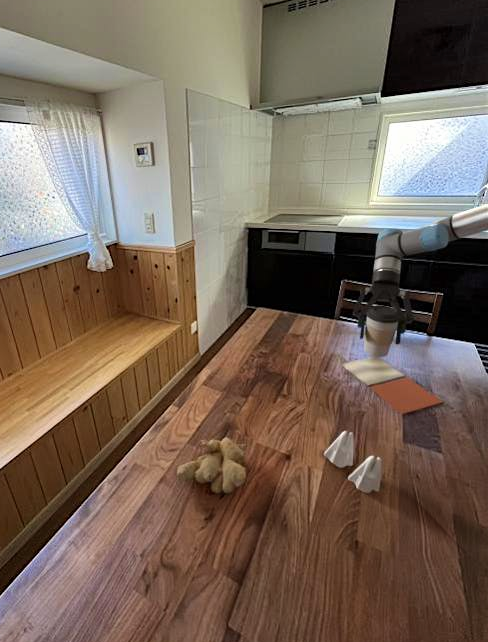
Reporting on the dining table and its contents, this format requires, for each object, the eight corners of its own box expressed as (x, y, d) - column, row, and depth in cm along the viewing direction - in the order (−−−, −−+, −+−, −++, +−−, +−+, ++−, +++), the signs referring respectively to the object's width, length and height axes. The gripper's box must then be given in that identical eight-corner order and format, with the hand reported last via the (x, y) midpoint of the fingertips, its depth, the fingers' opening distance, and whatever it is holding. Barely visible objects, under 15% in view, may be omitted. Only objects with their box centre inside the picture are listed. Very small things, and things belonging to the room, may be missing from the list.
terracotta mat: (443, 402, 95) (443, 401, 95) (402, 414, 92) (403, 413, 92) (407, 378, 106) (407, 377, 106) (370, 388, 103) (370, 387, 102)
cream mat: (404, 376, 107) (404, 375, 106) (367, 386, 104) (367, 385, 103) (375, 356, 117) (376, 355, 117) (341, 365, 114) (341, 364, 114)
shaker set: (321, 459, 80) (327, 424, 76) (333, 452, 82) (339, 417, 78) (368, 499, 71) (377, 462, 66) (380, 489, 73) (390, 452, 68)
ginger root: (265, 455, 81) (262, 436, 76) (237, 520, 71) (232, 503, 66) (209, 432, 89) (203, 413, 85) (177, 487, 79) (169, 470, 75)
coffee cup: (363, 357, 104) (371, 314, 98) (357, 342, 112) (364, 302, 106) (395, 360, 102) (406, 316, 96) (387, 344, 110) (396, 303, 104)
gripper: (423, 282, 107) (418, 350, 101) (348, 276, 116) (339, 337, 110) (429, 272, 101) (425, 343, 95) (350, 266, 110) (341, 331, 104)
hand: (379, 340), depth 102 cm, fingers closed on coffee cup, 9 cm apart
